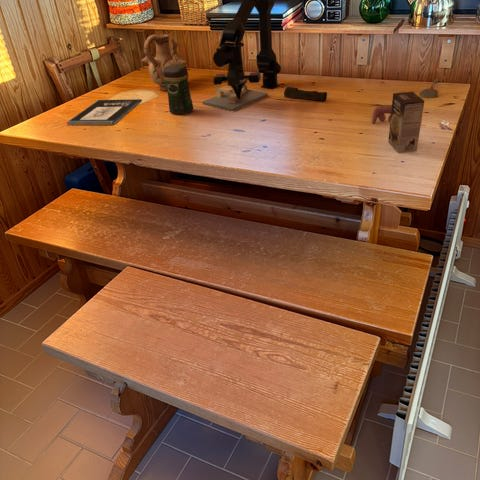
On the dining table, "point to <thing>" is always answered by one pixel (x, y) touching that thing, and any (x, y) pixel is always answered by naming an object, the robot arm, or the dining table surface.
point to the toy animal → (381, 113)
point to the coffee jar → (178, 89)
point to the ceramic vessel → (161, 58)
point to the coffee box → (405, 121)
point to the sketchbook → (104, 112)
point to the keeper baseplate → (245, 100)
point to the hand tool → (305, 94)
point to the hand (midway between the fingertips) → (239, 99)
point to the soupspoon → (429, 91)
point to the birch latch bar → (233, 97)
